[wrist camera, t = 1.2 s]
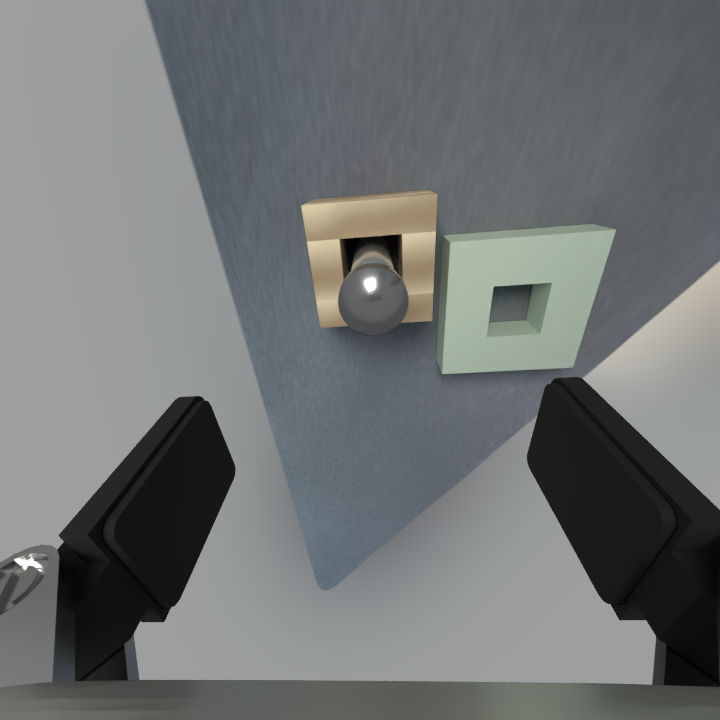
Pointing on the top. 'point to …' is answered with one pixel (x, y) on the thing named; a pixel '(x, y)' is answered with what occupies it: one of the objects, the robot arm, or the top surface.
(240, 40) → the top surface
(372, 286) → the pin
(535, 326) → the dock
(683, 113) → the top surface
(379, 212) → the frame
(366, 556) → the top surface
